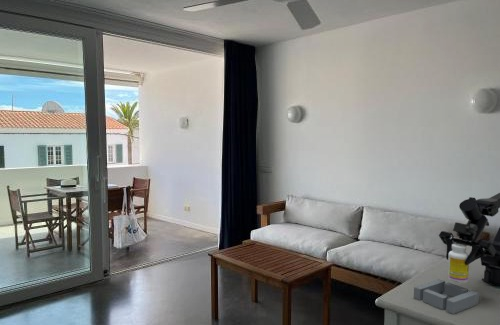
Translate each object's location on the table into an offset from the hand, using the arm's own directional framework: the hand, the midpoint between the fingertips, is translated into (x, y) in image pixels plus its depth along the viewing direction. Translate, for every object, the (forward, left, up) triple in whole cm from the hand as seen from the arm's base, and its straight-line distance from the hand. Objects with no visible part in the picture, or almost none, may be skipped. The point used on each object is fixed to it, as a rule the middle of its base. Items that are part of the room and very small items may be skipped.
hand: (456, 261), depth 141 cm
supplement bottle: (-1, -1, -7) cm, 7 cm away
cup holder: (+5, +3, -13) cm, 14 cm away
